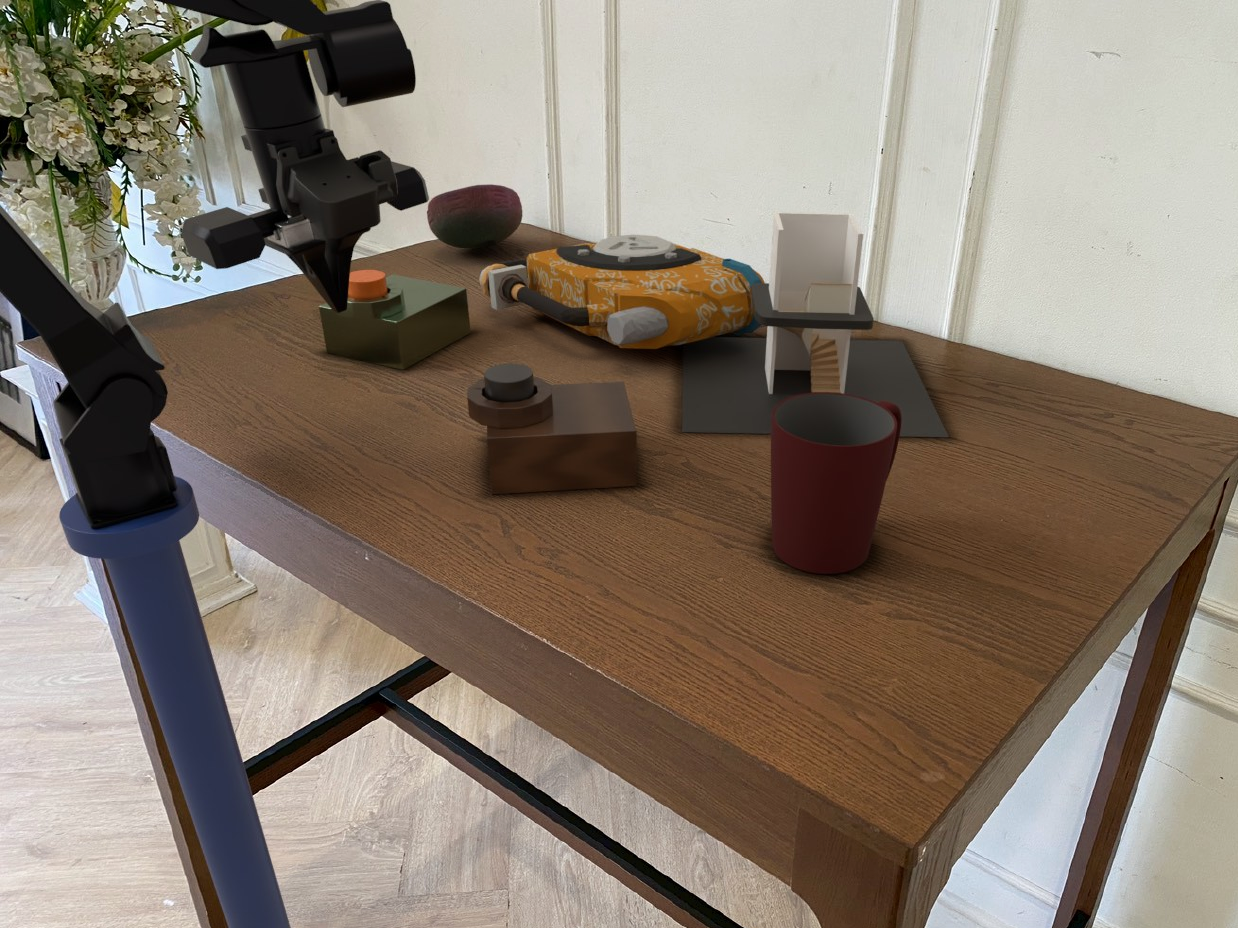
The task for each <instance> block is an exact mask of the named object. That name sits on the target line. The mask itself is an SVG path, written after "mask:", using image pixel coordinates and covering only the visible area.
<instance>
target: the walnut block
mask: <svg viewBox="0 0 1238 928" xmlns="http://www.w3.org/2000/svg"><path fill="white" fill-rule="evenodd" d="M533 380H534V396H533V397H532V398H530V399H527V400H523V401H520V402H506V403H502V402H497V401H491V400H488V399H487V398H486V394H485V383H484V378H482V379H481V378H480V379H479V380H477V381H476V382H475V383H473V384H472V385H470V386H469V387H468V388H467V394H466V395H467V397H466V399H467V408H468V409H467V410H468V416H469V418H470V419H472V420H473V421H474V422H476V423H477V424H479V425H480V426H484V427H486V446H487V447H486V448H487V458H488V469H489V470H488V471H489V480H490V490H491V495H505V494H522V493H523V494H525V493H538V492H539V493H540V492H542V493H543V492H559V491H575V490H589V489H590V490H591V489H592V490H593V489H607V488H609V489H610V488H624V487H625V488H626V487H627V488H628V487H637V485H638V481H637V479H638V477H637V476H638V475H637V465H638V464H637V463H638V462H637V458H638V457H637V427H636V424H635V421H634V417H633V412H632V408H631V404H630V401H629V398H628V393H627V389H626V386H625V383H624V381H609V382H585V383H584V382H583V383H563V384H562V383H561V384H551V383H549V382H548V381H546V380H544V379H543V378H540V377H539V376H534V375H533Z"/></svg>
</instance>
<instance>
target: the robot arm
mask: <svg viewBox="0 0 1238 928" xmlns="http://www.w3.org/2000/svg"><path fill="white" fill-rule="evenodd" d="M153 1H155V2H159V3H163V4H167V5H170V6H173V7H177V8H180V9H184V10H188V11H191V12H194V13H195V12H196V13H199V14H203V15H206V16H211V17H214V18H215V17H216V18H219V19H223V20H226V21H231V22H235V23H239V24H242V25H247V26H254V27H258V26H266V25H269V24H271V23H275V24H277V25H280V26H282V27H285V28H287V29H290V30H292V31H295V32H297V33H299V34H302V35H304V36H299V37H293V38H285V39H278V40H273V39H272V37H271V36H270V35H269V34H268V33H269V32H267V31H266V30H265V29H262V28H261V29H255V30H254V29H253V30H250V31H243V32H237V33H229V34H225V35H223V34H222V33H221V32H219V31H218V30H217V29H216V28H214V27H213V26H210V25H204V26H203V29H202V35H201V37H200V39H199V41H198V43H197V45H196V46H195V47H194V49H193V50H192V51H191V53H190V58H191V60H192V61H193V62H195V63H196V64H198V65H199V66H201V67H203V68H205V69H208V68H209V69H210V68H215V67H219V66H223V67H224V70H225V73H226V76H227V79H228V81H229V85H230V88H231V92H232V94H233V95H232V96H233V98H234V101H235V105H236V106H237V110H238V113H239V115H240V119H241V122H242V125H243V129H244V131H245V134H244V135H240V138H241V142H242V143H243V147H244V150H245V151H249V152H251V154H252V156H253V160H254V162H255V163H254V164H255V166H256V169H257V171H258V175H259V178H260V181H261V185H262V187H261V188H258V189H257V190H258V193H259V196H260V199H261V202H262V203H265V204H267V205H268V206H269V208H268V209H265V210H261V211H257V212H254V213H251V214H245V213H244V212H241V211H238V210H236V209H233V208H231V207H229V206H226V207H222V208H219V209H218V208H217V209H216V210H211V211H209V212H204V213H201V214H198V215H194V216H192V217H187V218H185V219H184V221H183V225H182V227H181V237H182V241H183V242H184V245H185V247H186V251H187V254H188V256H190V257H192V258H194V259H195V260H197V261H199V262H202V263H204V264H205V265H208V266H209V267H212V268H213V269H216V270H222V269H223V270H224V269H229V268H233V267H235V266H239V265H242V264H245V263H249V262H252V261H253V260H257V259H259V258H260V257H261V255H262V253H263V252H264V250H265V247H267V248H271V249H272V250H275V251H277V252H280V253H282V254H284V255H286V256H287V257H288V258H289V259H290V260H291V262H293V264H295V266H296V267H297V268H298V269H299V270H300V272H302V274H303V275H304V276H305V278H306V279H307V280H308V281H309V282H310V284H311V285H312V286H313V287H314V289H315V290H316V291H317V293H318V294H319V295H320V296H321V297H322V299H323V300H324V301H325V303H327V304H328V305H329V306H330V308H331V309H332V310H333V311H335V312H337V313H340V312H343V311H346V310H347V302H348V290H349V277H350V273H351V265H352V259H353V254H354V248H355V246H356V244H357V243H358V241H359V240H360V239H361V237H362V236H363V235H364V234H365V233H368V232H370V231H371V229H372V228H374V227H377V226H379V224H380V223H381V221H382V220H381V208H380V207H381V206H380V205H383V204H388V205H390V207H392V208H394V209H396V210H397V211H404V210H408V209H411V208H415V207H417V206H421V205H423V204H426V203H429V201H430V196H429V192H428V188H427V183H426V179H425V178H424V177H423V175H422V174H421V172H420V171H419V170H418V169H417V168H415V167H413V166H410V165H405V164H403V163H399V162H396V161H393V160H391V157H390V156H388V154H386V153H385V152H383V150H375V151H372V152H369V153H365V154H361V155H360V156H359V157H358V156H357V157H353V158H350V159H347V158H346V156H345V155H344V153H343V152H342V150H341V147H340V145H339V140H338V138H337V137H336V136H335V132H334V130H333V129H329V128H326V127H325V123H324V119H323V116H322V113H321V108H320V104H319V101H318V98H317V94H316V91H315V87H314V84H313V79H312V77H311V73H310V69H311V72H312V75H313V78H314V81H315V83H316V86H317V87H318V90H319V91H320V93H321V94H322V95H323V96H324V97H330V96H333V98H334V99H335V100H336V102H337V104H339V106H340V107H342V108H346V107H350V106H351V107H352V106H356V105H357V106H358V105H361V104H367V103H371V102H376V101H381V100H385V99H391V98H397V97H400V96H406V95H410V94H413V93H414V92H415V89H416V83H417V82H416V80H417V79H416V78H417V75H416V67H415V63H414V57H413V53H412V51H411V49H410V48H408V46H407V43H406V40H405V37H404V35H403V32H402V30H401V28H400V27H399V25H398V23H397V21H396V20H395V19H394V15H393V11H392V6H391V3H389V2H388V1H385V0H368V1H365V2H362V3H360V4H358V5H355V6H351V7H345V8H337V9H331V10H326V11H322V10H321V9H320V8H319V7H318V4H317V3H314V2H313V1H312V0H153ZM304 51H306V52H307V57H308V61H309V65H308V62H307V58H306V54H305V52H304ZM309 66H310V69H309ZM0 294H1V295H2V296H3V297H4V298H5V299H6V300H7V301H8V302H9V303H10V304H11V305H12V306H13V308H14V309H15V310H16V311H17V312H18V313H19V314H20V315H21V317H23V318H24V319H25V320H26V321H27V322H28V324H29V325H30V326H31V327H32V329H34V330H35V331H36V332H37V333H38V334H39V336H40V337H41V339H42V340H43V342H44V343H45V345H46V347H47V349H48V351H49V352H50V354H51V356H52V357H53V359H54V361H55V362H56V364H57V366H58V368H59V369H60V371H61V373H62V375H63V376H64V378H65V379H66V381H67V383H66V384H65V385H64V387H63V388H62V389H61V391H60V392H59V393H58V395H57V396H56V397H55V399H54V400H53V402H52V405H53V409H54V412H55V415H56V420H57V422H58V428H59V431H60V435H61V438H59V443H60V446H61V449H62V452H63V455H64V458H65V461H66V463H67V466H68V470H69V472H70V475H71V476H70V477H71V478H72V481H73V484H74V487H75V491H76V493H75V494H74V495H75V496H76V499H77V501H78V503H79V505H80V507H81V509H82V511H83V513H84V515H85V517H86V519H87V521H88V524H89V526H90V528H91V529H93V530H97V529H101V528H105V527H108V526H112V525H116V524H119V523H123V522H127V521H130V520H134V519H137V518H141V517H145V516H148V515H152V514H155V513H159V512H163V511H166V510H170V509H174V508H176V507H178V502H177V499H176V498H175V496H174V495H173V493H172V492H175V491H176V490H177V485H176V481H175V478H174V476H175V475H174V471H173V467H172V464H171V461H170V457H169V453H168V449H167V447H166V446H165V444H164V443H163V441H162V440H161V438H160V437H159V436H157V435H155V433H154V431H153V430H152V428H151V425H152V422H153V421H154V420H156V419H157V418H158V417H159V416H160V415H161V414H162V412H163V410H164V408H165V407H166V404H167V399H168V393H169V391H168V388H167V385H166V382H165V380H164V378H163V376H162V374H161V372H160V371H164V370H165V367H166V366H165V365H164V363H163V361H162V358H161V357H160V355H159V353H158V351H157V349H156V347H155V345H154V343H153V341H152V340H151V338H150V337H148V336H146V335H145V334H142V333H141V332H140V331H139V330H137V328H135V326H133V324H132V323H131V321H130V319H129V318H128V316H127V314H126V312H125V310H124V309H123V307H122V306H121V304H120V303H119V302H114V303H113V304H112V305H110V307H108V308H107V309H106V310H105V311H104V312H103V311H102V310H100V309H99V308H97V307H96V306H94V305H93V304H92V303H90V302H89V301H87V300H86V299H85V298H84V297H83V296H81V295H80V294H79V293H78V292H77V291H76V290H75V289H74V287H72V285H71V284H70V282H68V281H67V279H65V277H64V276H63V274H62V273H60V271H59V270H58V269H57V268H56V267H55V265H53V263H52V262H51V261H50V260H49V258H47V257H46V255H45V254H44V253H43V252H42V251H41V250H40V248H39V247H38V246H37V245H36V244H35V243H34V242H33V240H32V239H31V238H30V237H29V236H28V235H27V234H26V232H24V230H23V229H22V228H21V226H20V225H18V223H16V221H15V220H14V218H12V216H11V215H10V214H9V213H8V212H7V210H6V209H5V208H3V206H2V205H1V204H0Z"/></svg>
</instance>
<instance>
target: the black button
mask: <svg viewBox="0 0 1238 928" xmlns="http://www.w3.org/2000/svg"><path fill="white" fill-rule="evenodd" d="M533 376H534V371H533V369H532V368H531V367H529V366H528V365H526V364H525V365H524V364H521V363H513V362H512V363H510V362H509V363H501V364H496V365H492V366H489V367H488V368H486V369H485V370H484V372H483V379H484V383H485V394H486V398H487V399H488V400H491V401H497V402H502V403H506V402H520V401H523V400H527V399H530V398H532V397H533V396H534V380H533Z"/></svg>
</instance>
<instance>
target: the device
mask: <svg viewBox="0 0 1238 928" xmlns="http://www.w3.org/2000/svg"><path fill="white" fill-rule="evenodd" d="M478 281H479V286H480V287H481V289H482V291H483V294H484V295H485V296H486V297H487V298H488V299H490V305H491V306H490V307H491V308H492V309H494V310H495V311H500V310H501V311H502V310H504V309H509V308H513V307H518V306H521V305H527V306H528V307H530V308H532V309H533V310H535V311H537V312H539V313H541V314H542V315H545V316H547V317H549V318H551V319H553V320H555V321H557V322H559V323H562V324H563V325H565V326H568V327H570V328H571V329H574V330H576V331H578V332H580V333H582V334H584V335H586V336H589V337H592V336H593V337H594V336H595V337H598V338H599V339H602V340H604V341H606V342H608V343H610V344H612V345H614V346H616V347H617V346H618V347H619V348H620V349H642V350H643V349H644V350H645V349H647V350H649V349H650V350H658V349H660V348H664V347H667V346H681V345H683V344H685V343H689V342H694V341H698V340H702V339H706V338H710V337H719V336H721V335H726V334H729V333H732V334H734V335H737V336H738V337H739V336H743V335H748V334H752V333H754V332H755V331H756V330H757V329H759V328H760V327H761V326H762V325H760V324H759V323H758V322H757V321H756V320H755V316H754V309H753V303H752V297H751V286H752V284H755V283H766V282H765V280H764V278H763V276H762V275H761V273H759V272H758V271H756V270H755V269H754V268H753V267H751V265H750V264H747V263H744V262H741V261H738V260H736V259H732V258H723V257H720V256H716V255H715V254H711V253H709V252H705V251H702V250H700V249H697V248H694V247H691V248H688V247H685V246H682V245H679V244H676V243H673V242H672V241H671V240H667V239H665V238H662V237H660V236H657V235H645V234H624V235H623V234H622V235H613V236H609V237H606V238H603V239H600V240H599V241H598V242H595V243H590V242H585V243H579V244H574V245H568V246H560V247H558V248H554V249H548V250H542V251H537V252H532V253H528V255H527V257H525V259H514V260H513V259H512V260H508V261H507V260H506V261H503V262H496V263H492V264H490V265H487V266H485V267H484V268H483V269H482V270H481V273H480V275H479V280H478Z"/></svg>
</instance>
